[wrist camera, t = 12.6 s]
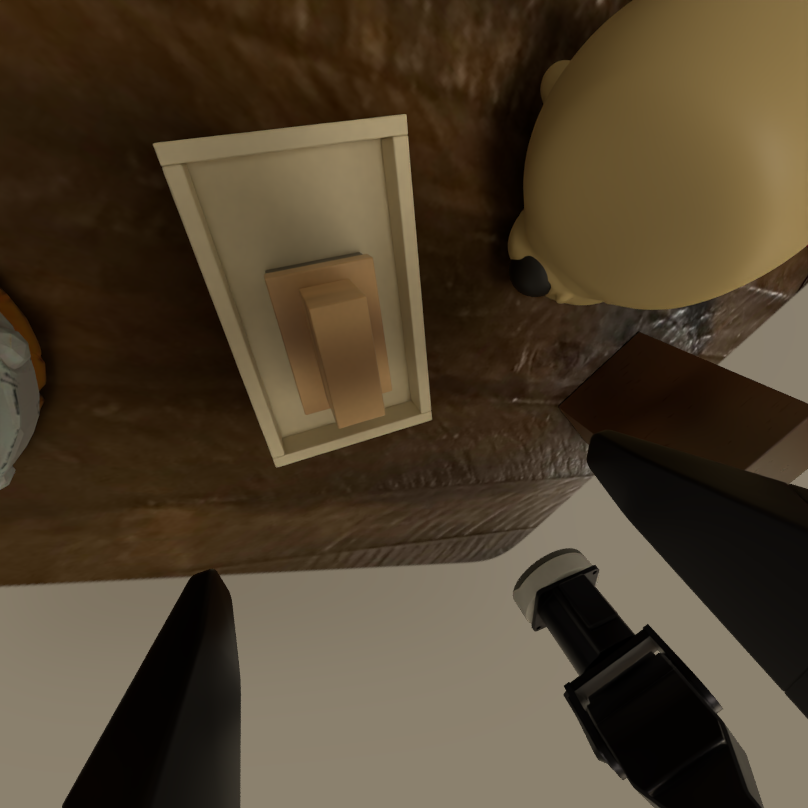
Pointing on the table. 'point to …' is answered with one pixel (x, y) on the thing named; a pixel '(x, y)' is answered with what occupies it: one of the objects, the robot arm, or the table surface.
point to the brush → (333, 335)
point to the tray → (305, 256)
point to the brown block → (693, 409)
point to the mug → (17, 385)
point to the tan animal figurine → (668, 156)
